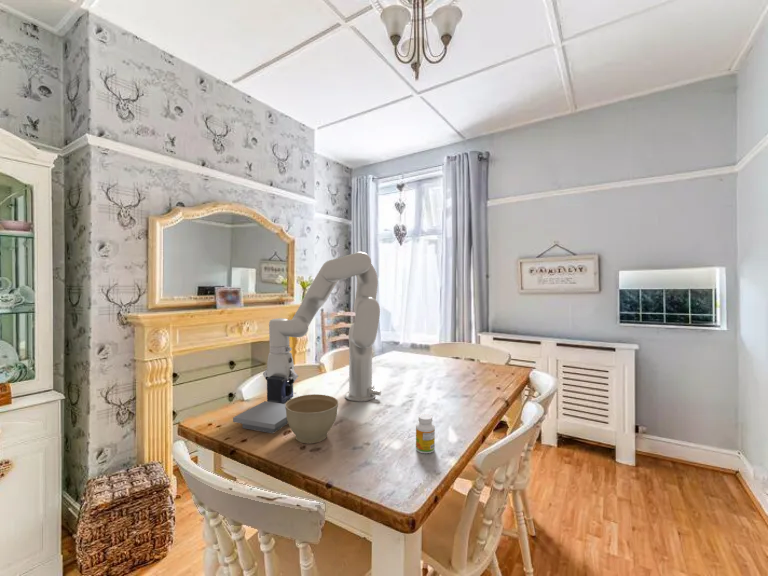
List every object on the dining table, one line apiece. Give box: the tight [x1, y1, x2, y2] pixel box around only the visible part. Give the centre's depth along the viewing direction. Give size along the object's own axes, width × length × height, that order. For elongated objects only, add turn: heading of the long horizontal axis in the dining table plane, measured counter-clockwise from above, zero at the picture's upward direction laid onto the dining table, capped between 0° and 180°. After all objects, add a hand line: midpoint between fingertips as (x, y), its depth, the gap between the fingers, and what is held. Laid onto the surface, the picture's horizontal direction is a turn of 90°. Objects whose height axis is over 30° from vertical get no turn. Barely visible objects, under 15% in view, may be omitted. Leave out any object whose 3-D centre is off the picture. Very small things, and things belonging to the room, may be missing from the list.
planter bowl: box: [284, 393, 339, 444], centre depth 107 cm, size 16×16×11 cm
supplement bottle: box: [415, 413, 436, 454], centre depth 100 cm, size 5×5×10 cm
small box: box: [266, 376, 294, 404], centre depth 137 cm, size 11×6×10 cm, turn 168°
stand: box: [232, 400, 289, 434], centre depth 117 cm, size 16×16×4 cm
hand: (280, 393), depth 137 cm, fingers closed on small box, 6 cm apart
